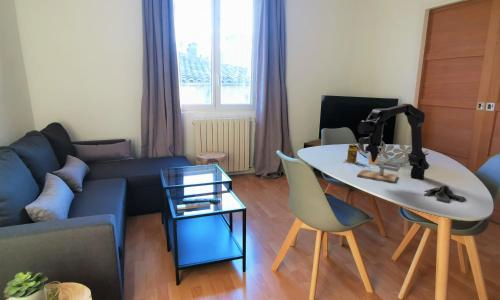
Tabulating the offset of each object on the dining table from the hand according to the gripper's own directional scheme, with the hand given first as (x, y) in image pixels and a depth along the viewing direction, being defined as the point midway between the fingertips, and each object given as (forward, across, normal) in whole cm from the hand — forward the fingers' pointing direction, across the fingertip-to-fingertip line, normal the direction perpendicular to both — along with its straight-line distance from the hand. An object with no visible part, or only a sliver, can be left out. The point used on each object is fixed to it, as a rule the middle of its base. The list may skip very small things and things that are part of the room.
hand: (373, 161), depth 165 cm
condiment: (+13, -38, -21) cm, 46 cm away
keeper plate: (+12, -14, +1) cm, 19 cm away
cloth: (+13, -1, +33) cm, 35 cm away
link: (+2, 0, +5) cm, 6 cm away
